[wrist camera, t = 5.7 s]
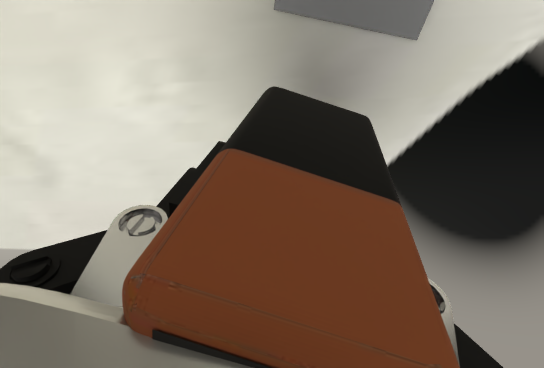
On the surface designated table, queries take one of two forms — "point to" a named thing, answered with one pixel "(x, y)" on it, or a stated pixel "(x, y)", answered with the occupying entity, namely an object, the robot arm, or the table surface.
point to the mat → (365, 13)
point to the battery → (291, 252)
